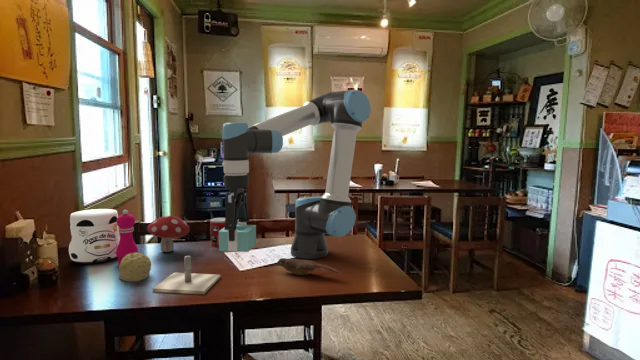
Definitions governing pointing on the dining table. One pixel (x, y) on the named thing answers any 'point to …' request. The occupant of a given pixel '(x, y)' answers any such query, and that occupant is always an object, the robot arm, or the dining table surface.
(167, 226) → the decorative mushroom
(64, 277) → the dining table surface
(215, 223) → the canned food
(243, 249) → the teal hollow square block
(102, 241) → the dulce de leche jar
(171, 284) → the rod stand
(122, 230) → the pepper mill
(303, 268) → the bird sculpture
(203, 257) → the dining table surface
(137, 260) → the rock
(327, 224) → the robot arm
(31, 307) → the dining table surface
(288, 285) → the dining table surface
